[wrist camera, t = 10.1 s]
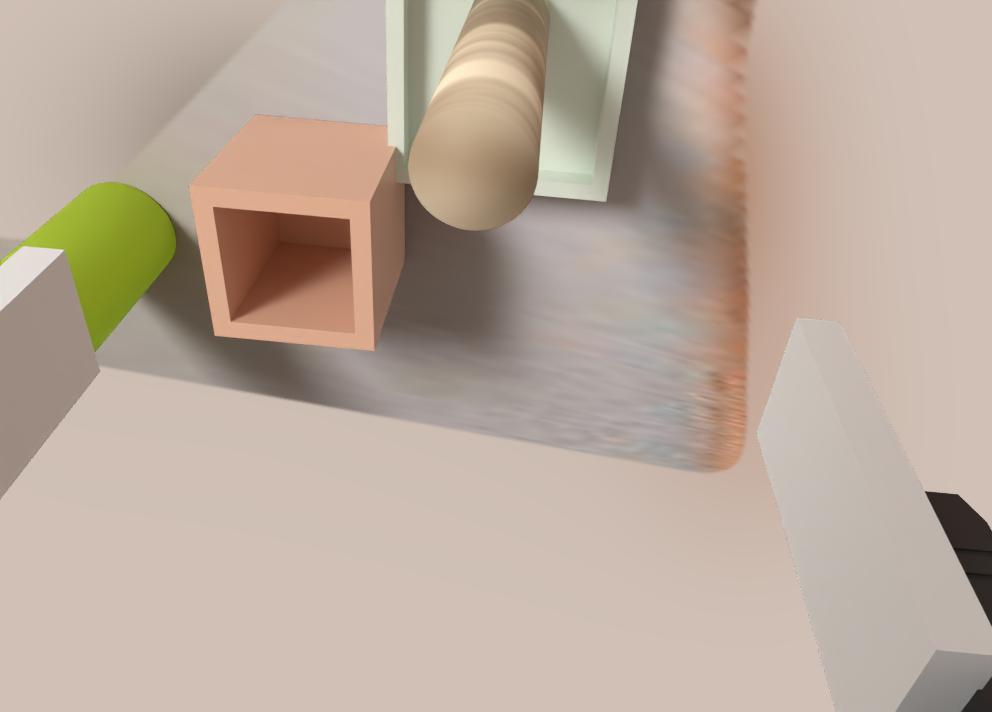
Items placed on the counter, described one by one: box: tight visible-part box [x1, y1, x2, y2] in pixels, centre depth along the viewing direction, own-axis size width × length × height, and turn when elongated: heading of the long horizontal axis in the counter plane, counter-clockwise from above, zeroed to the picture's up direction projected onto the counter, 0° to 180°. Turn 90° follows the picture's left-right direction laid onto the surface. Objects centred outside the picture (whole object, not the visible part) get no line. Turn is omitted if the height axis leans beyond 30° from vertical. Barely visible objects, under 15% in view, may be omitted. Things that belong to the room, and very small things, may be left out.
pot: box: [189, 115, 405, 351], centre depth 40 cm, size 8×8×9 cm
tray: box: [386, 0, 638, 202], centre depth 37 cm, size 16×11×3 cm
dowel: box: [408, 0, 550, 231], centre depth 29 cm, size 4×4×18 cm
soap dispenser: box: [0, 182, 176, 352], centre depth 38 cm, size 6×7×20 cm
